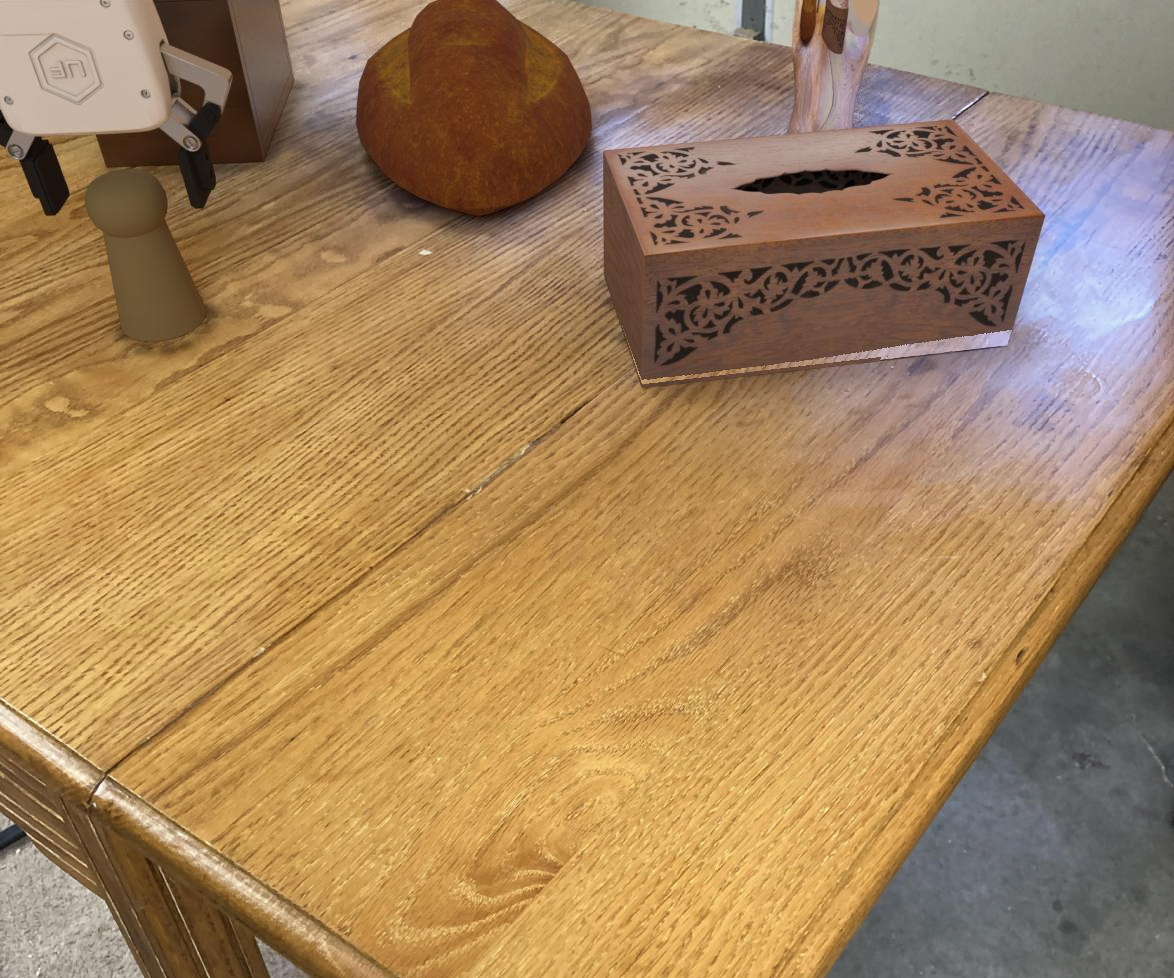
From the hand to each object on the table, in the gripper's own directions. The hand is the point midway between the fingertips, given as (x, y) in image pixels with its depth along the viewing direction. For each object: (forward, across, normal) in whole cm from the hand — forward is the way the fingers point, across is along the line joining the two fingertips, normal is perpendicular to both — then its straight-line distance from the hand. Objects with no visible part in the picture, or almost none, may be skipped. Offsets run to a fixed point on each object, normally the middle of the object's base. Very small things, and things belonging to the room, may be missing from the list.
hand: (130, 202), depth 75 cm
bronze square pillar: (+9, -4, +34) cm, 36 cm away
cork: (+10, 0, 0) cm, 10 cm away
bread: (+10, +22, +27) cm, 36 cm away
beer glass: (+10, +52, +25) cm, 59 cm away
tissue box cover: (+10, +46, -2) cm, 47 cm away
